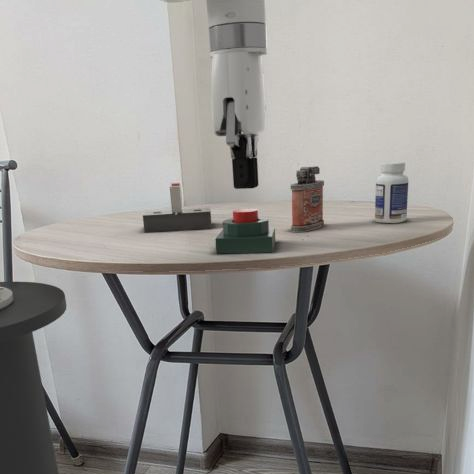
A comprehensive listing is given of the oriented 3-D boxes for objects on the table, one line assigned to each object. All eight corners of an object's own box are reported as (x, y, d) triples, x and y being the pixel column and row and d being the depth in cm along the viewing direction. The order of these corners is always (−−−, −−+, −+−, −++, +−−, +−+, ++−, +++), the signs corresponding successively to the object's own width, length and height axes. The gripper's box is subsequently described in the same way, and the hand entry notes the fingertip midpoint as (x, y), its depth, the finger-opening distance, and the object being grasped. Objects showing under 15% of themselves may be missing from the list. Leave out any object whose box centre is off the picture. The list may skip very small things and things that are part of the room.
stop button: (232, 225, 83) (231, 212, 82) (234, 221, 86) (234, 209, 86) (257, 224, 83) (256, 211, 82) (259, 220, 86) (258, 208, 85)
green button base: (216, 254, 83) (214, 225, 81) (223, 243, 90) (222, 217, 89) (272, 252, 82) (271, 223, 80) (275, 241, 89) (274, 215, 88)
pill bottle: (409, 219, 103) (412, 161, 99) (403, 223, 98) (406, 163, 95) (378, 218, 105) (380, 162, 102) (371, 223, 101) (373, 164, 97)
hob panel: (211, 229, 103) (210, 211, 102) (143, 233, 103) (141, 215, 101) (211, 222, 111) (210, 205, 110) (148, 226, 111) (146, 209, 110)
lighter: (304, 232, 95) (303, 168, 92) (286, 231, 97) (285, 168, 94) (328, 224, 101) (328, 164, 98) (311, 223, 103) (311, 164, 100)
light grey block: (181, 212, 104) (179, 184, 102) (171, 212, 104) (169, 185, 102) (182, 209, 108) (180, 182, 106) (173, 209, 108) (170, 183, 106)
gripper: (230, 51, 84) (238, 183, 91) (189, 40, 71) (201, 195, 78) (280, 46, 82) (285, 181, 88) (247, 33, 69) (255, 193, 75)
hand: (246, 187), depth 83 cm, fingers closed
